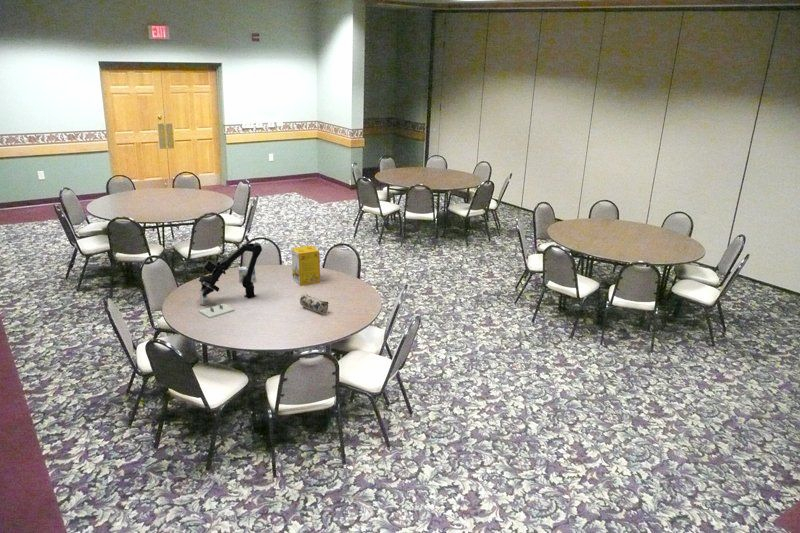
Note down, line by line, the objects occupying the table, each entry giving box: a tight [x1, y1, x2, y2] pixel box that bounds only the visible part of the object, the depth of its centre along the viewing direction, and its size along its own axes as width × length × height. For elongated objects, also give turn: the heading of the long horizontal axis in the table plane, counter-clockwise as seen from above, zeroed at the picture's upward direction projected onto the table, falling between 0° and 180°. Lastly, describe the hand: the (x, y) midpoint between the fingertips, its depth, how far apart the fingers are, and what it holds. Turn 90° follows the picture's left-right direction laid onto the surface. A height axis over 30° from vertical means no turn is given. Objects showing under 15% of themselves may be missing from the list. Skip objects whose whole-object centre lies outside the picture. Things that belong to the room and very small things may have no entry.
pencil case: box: [299, 293, 330, 315], centre depth 389 cm, size 22×8×10 cm, turn 51°
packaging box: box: [290, 245, 321, 287], centre depth 439 cm, size 16×16×25 cm
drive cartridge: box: [198, 289, 209, 306], centre depth 395 cm, size 4×4×10 cm
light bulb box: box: [238, 266, 257, 284], centre depth 438 cm, size 11×7×11 cm, turn 84°
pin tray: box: [198, 303, 236, 319], centre depth 385 cm, size 14×18×4 cm
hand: (201, 295), depth 394 cm, fingers closed on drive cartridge, 4 cm apart
